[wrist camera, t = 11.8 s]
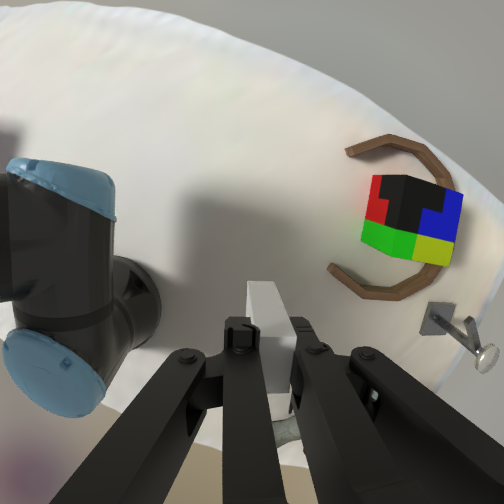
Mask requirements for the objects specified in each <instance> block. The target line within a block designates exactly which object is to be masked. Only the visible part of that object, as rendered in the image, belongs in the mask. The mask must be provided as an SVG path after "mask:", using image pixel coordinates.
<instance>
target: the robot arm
mask: <svg viewBox="0 0 504 504" xmlns="http://www.w3.org/2000/svg"><path fill="white" fill-rule="evenodd" d="M6 171H7V172H8V173H7V174H0V303H1V302H8V301H12V305H13V312H14V318H15V324H16V328H15V329H13V330H12V331H10V332H9V333H8V334H7V338H6V340H5V342H4V343H3V348H2V353H3V360H4V362H5V366H6V368H7V370H8V372H9V374H10V376H11V378H12V379H13V381H14V382H15V383H16V385H17V386H18V387H19V388H20V389H21V390H22V392H23V393H24V394H25V395H27V396H28V397H29V398H30V399H31V400H32V401H33V402H35V403H36V404H37V405H39V406H40V407H42V408H44V409H46V410H47V411H49V412H51V413H54V414H57V415H59V416H62V417H67V418H80V417H83V416H85V415H87V414H90V413H91V412H92V411H93V410H94V409H95V408H96V406H97V405H98V404H99V403H100V401H101V400H103V398H104V397H105V394H106V391H107V389H108V387H109V385H110V384H111V382H112V380H113V378H114V376H115V375H116V373H117V371H118V369H119V368H120V366H121V364H122V363H123V361H124V359H125V357H126V356H127V354H128V352H130V351H131V350H133V349H136V348H138V347H140V346H141V345H143V344H144V343H146V342H147V341H148V340H149V339H150V337H151V336H152V335H153V333H154V331H155V329H156V328H157V326H158V323H159V321H160V317H161V301H160V296H159V293H158V290H157V288H156V286H155V284H154V282H153V281H152V279H151V278H150V276H149V275H148V274H147V273H146V272H145V271H144V270H143V269H142V268H141V267H140V266H139V265H137V264H136V263H134V262H132V261H130V260H128V259H126V258H123V257H119V256H113V254H114V228H115V222H116V220H117V219H116V216H115V185H114V182H113V180H112V179H111V177H110V176H108V175H107V174H106V173H104V172H101V171H98V170H94V169H90V168H86V167H81V166H76V165H71V164H65V163H59V162H53V161H45V160H40V161H39V160H35V159H28V158H12V159H11V160H10V161H9V164H8V166H7V167H6ZM290 383H291V386H292V395H291V401H290V407H289V414H291V413H292V409H293V410H294V413H295V417H296V421H297V425H298V428H299V432H300V436H301V440H302V443H303V447H304V451H305V455H306V458H307V462H308V466H309V470H310V473H311V477H312V481H313V484H314V488H315V492H316V496H317V500H318V503H319V504H504V447H503V446H502V445H500V444H499V443H498V442H497V441H495V440H494V439H493V438H491V437H490V436H489V435H487V434H486V433H485V432H484V431H482V430H481V429H480V428H478V427H477V426H476V425H475V424H473V423H472V422H471V421H469V420H468V419H467V418H465V417H464V416H463V415H461V414H460V413H459V412H457V411H456V410H455V409H454V408H452V407H451V406H450V405H448V404H447V403H446V402H445V401H443V400H442V399H441V398H439V397H438V396H437V395H436V394H434V393H433V392H432V391H430V390H429V389H428V388H427V387H425V386H424V385H423V384H421V383H420V382H419V381H417V380H416V379H415V378H414V377H412V376H411V375H410V374H408V373H407V372H406V371H404V370H403V369H402V368H401V367H399V366H398V365H397V364H395V363H394V362H393V361H392V360H390V359H389V358H388V357H386V356H385V355H384V354H382V353H381V352H380V351H378V350H376V349H374V348H371V347H366V346H363V347H357V348H355V349H353V350H352V352H351V356H342V355H336V354H334V352H333V350H332V349H331V347H330V346H329V345H327V344H325V343H323V342H320V341H319V339H318V338H317V336H316V334H315V332H314V330H313V328H312V326H311V325H310V323H309V321H308V320H306V319H305V318H303V317H289V316H288V314H287V311H286V309H285V307H284V304H283V302H282V299H281V297H280V295H279V292H278V290H277V287H276V285H275V283H274V281H248V282H247V301H246V317H229V318H228V319H227V320H226V321H225V330H224V350H223V351H222V352H221V353H220V354H218V355H216V356H213V357H207V358H206V357H205V355H204V354H203V353H202V352H200V351H199V350H195V349H189V348H185V349H184V348H183V349H179V350H176V351H174V352H172V353H171V354H170V355H169V356H168V358H167V359H166V360H165V361H164V363H163V364H162V365H161V366H160V368H159V369H158V370H157V371H156V372H155V374H154V375H153V376H152V377H151V379H150V380H149V381H148V382H147V384H146V385H145V386H144V387H143V388H142V390H141V391H140V392H139V393H138V395H137V396H136V397H135V398H134V400H133V401H132V402H131V403H130V405H129V406H128V407H127V408H126V409H125V411H124V412H123V413H122V414H121V416H120V417H119V418H118V419H117V421H116V422H115V423H114V424H113V425H112V427H111V428H110V429H109V430H108V432H107V433H106V434H105V435H104V437H103V438H102V439H101V440H100V441H99V443H98V444H97V445H96V446H95V448H94V449H93V450H92V451H91V453H90V454H89V455H88V456H87V458H86V459H85V460H84V461H83V462H82V464H81V465H80V466H79V467H78V469H77V470H76V471H75V472H74V473H73V475H72V476H71V477H70V479H69V480H68V481H67V482H66V483H65V485H64V486H63V487H62V488H61V489H60V491H59V492H58V493H57V495H56V496H55V497H54V498H53V499H52V500H51V502H50V503H49V504H163V502H164V500H165V499H166V497H167V495H168V492H169V490H170V488H171V486H172V484H173V482H174V480H175V478H176V476H177V474H178V472H179V470H180V468H181V466H182V464H183V462H184V460H185V458H186V455H187V454H188V452H189V449H190V447H191V445H192V443H193V441H194V439H195V437H196V435H197V433H198V431H199V429H200V426H201V424H202V422H203V420H204V418H205V416H206V413H207V409H210V408H215V407H221V406H223V446H222V453H223V454H222V456H223V457H222V462H223V463H222V468H223V470H222V474H223V475H222V481H223V482H222V485H223V504H288V503H287V501H286V497H285V492H284V486H283V480H282V475H281V470H280V464H279V459H278V453H277V448H276V442H275V437H274V431H273V425H272V420H271V414H270V409H269V403H268V397H267V393H289V389H290ZM374 390H375V391H376V392H377V393H378V397H377V399H376V400H375V399H374V398H373V397H372V394H373V391H374Z"/></svg>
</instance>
